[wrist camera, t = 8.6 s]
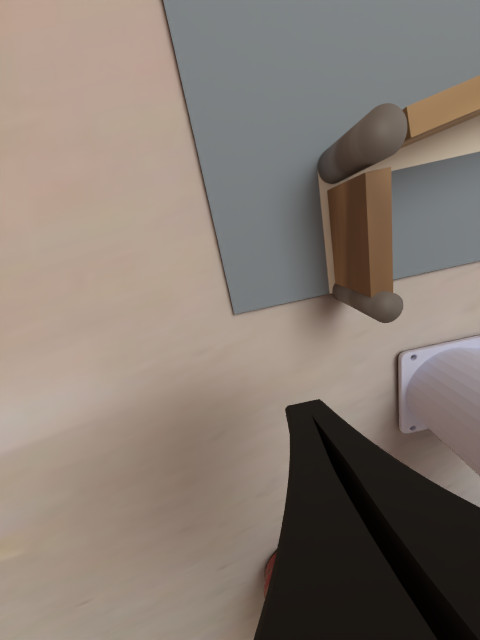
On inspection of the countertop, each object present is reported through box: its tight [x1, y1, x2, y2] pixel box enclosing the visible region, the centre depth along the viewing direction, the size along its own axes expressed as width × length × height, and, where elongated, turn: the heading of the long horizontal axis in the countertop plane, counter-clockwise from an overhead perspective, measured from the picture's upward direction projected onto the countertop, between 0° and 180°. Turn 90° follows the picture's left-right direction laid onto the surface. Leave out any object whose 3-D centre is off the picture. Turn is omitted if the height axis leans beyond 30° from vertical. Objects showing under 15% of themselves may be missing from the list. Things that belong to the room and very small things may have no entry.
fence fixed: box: [317, 103, 407, 323], centre depth 14 cm, size 2×10×5 cm, turn 12°
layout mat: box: [163, 0, 480, 314], centre depth 15 cm, size 22×20×1 cm
